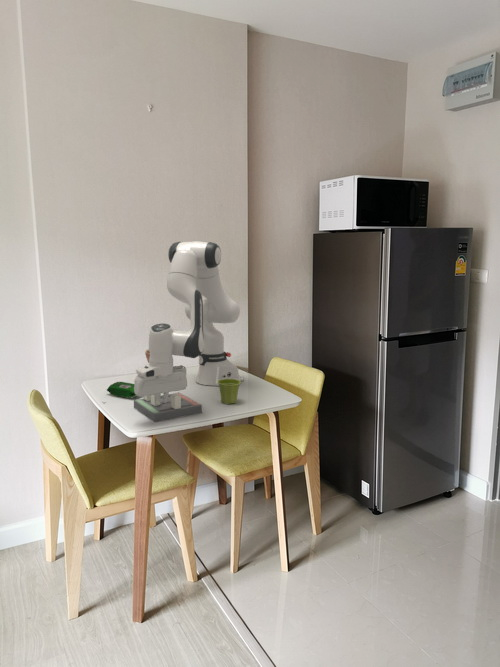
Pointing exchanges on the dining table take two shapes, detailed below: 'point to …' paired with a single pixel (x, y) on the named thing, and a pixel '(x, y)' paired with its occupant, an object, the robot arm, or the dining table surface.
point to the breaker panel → (167, 408)
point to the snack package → (122, 389)
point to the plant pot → (229, 390)
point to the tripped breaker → (175, 401)
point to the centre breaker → (154, 400)
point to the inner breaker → (147, 398)
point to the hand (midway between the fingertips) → (161, 404)
